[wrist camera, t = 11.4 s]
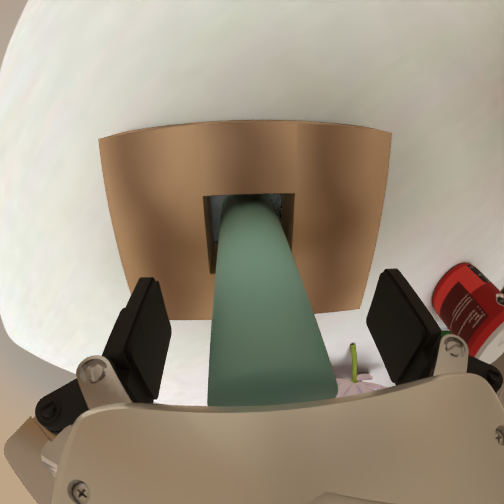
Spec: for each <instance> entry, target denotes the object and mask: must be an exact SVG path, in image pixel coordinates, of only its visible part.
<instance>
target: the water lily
mask: <svg viewBox="0 0 504 504" xmlns="http://www.w3.org/2000/svg"><path fill="white" fill-rule="evenodd" d="M350 346H351V354H352V380H347V379H336V381H337V384H338V393H337V396H336V398H338V397H344V396H350V395H355V394H361V393H366V392H371V391H375V389H376V390H380V389H384V388H387V387H385V386H382V385H378V384H374V383H368V382H362V380H371V379H372V376H371V375H369V374H359V375H357V354H356V345H350ZM373 388H374V389H373Z"/></svg>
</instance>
